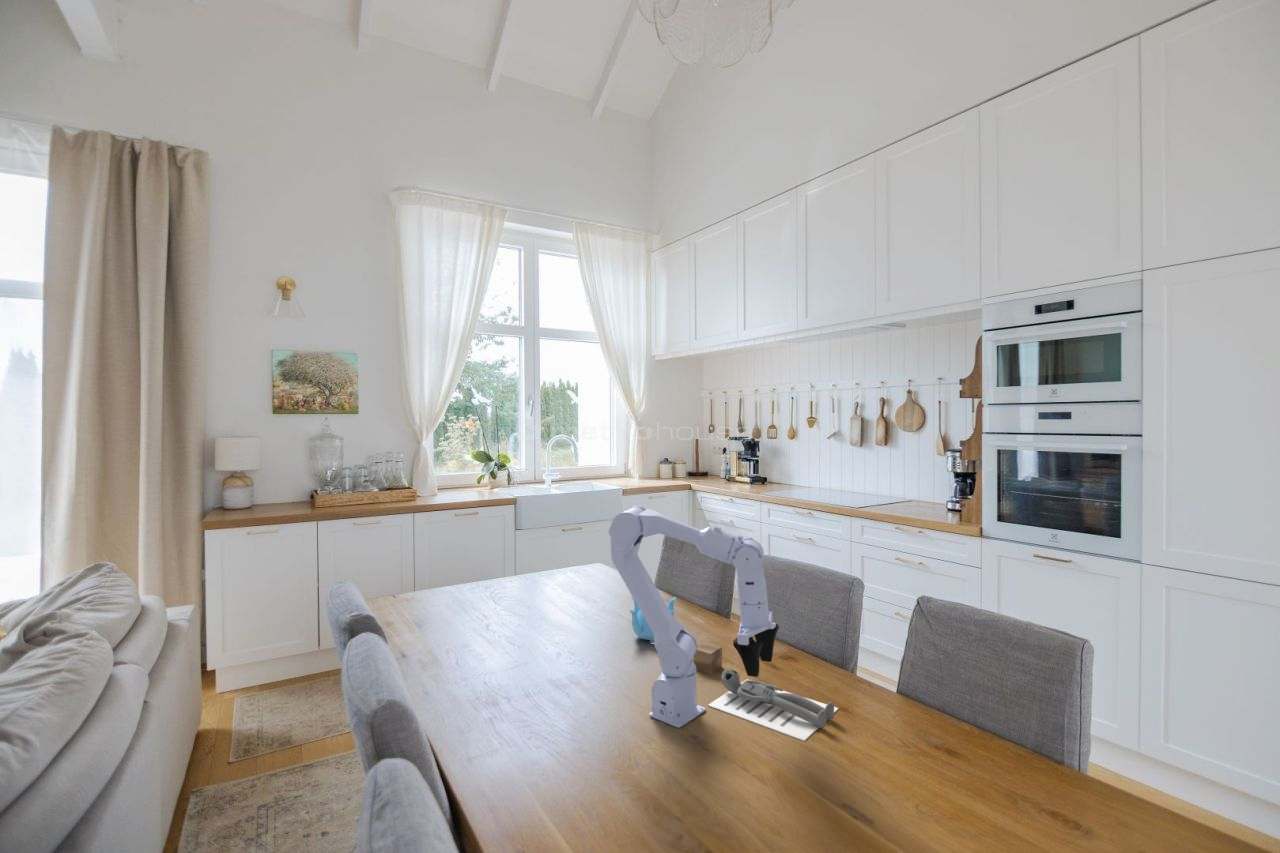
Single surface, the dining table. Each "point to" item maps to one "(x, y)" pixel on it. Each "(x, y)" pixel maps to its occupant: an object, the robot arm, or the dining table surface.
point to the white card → (767, 715)
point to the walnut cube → (708, 658)
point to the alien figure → (778, 698)
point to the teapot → (645, 622)
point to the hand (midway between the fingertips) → (759, 668)
